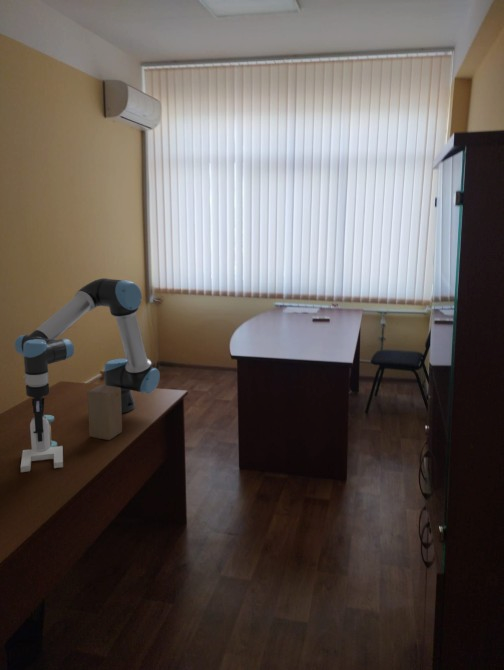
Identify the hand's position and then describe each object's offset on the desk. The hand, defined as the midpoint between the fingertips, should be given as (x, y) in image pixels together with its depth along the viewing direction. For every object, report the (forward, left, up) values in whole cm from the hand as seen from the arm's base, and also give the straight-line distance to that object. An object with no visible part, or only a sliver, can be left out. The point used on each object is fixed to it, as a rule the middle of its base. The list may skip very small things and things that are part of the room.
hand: (41, 444), depth 193 cm
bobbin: (-1, -15, -8) cm, 17 cm away
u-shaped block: (0, -3, -8) cm, 8 cm away
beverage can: (0, 0, -2) cm, 2 cm away
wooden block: (-24, -21, -8) cm, 33 cm away
